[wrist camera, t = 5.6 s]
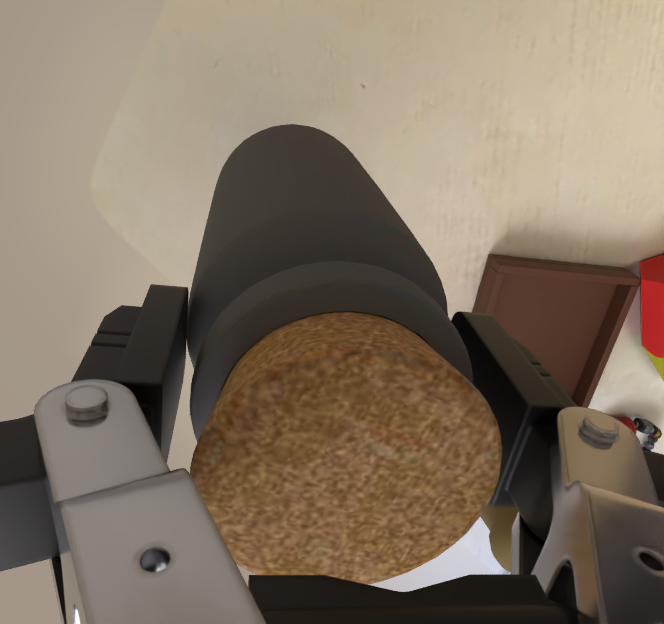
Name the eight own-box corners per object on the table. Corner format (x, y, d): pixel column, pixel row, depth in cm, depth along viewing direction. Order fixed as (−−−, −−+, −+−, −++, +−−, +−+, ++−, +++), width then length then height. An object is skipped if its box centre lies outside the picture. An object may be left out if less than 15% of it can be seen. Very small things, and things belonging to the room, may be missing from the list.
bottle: (183, 209, 21) (62, 521, 8) (284, 86, 20) (347, 219, 6) (298, 298, 23) (355, 655, 10) (397, 194, 22) (616, 457, 9)
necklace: (653, 401, 49) (668, 417, 47) (650, 481, 55) (662, 498, 53) (564, 428, 49) (575, 444, 48) (570, 505, 55) (580, 522, 54)
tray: (488, 253, 41) (499, 264, 39) (625, 268, 43) (642, 279, 41) (445, 403, 46) (453, 418, 44) (568, 409, 48) (581, 424, 46)
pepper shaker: (499, 484, 51) (557, 591, 41) (438, 479, 50) (483, 587, 40) (523, 432, 49) (591, 532, 39) (459, 425, 47) (513, 526, 38)
